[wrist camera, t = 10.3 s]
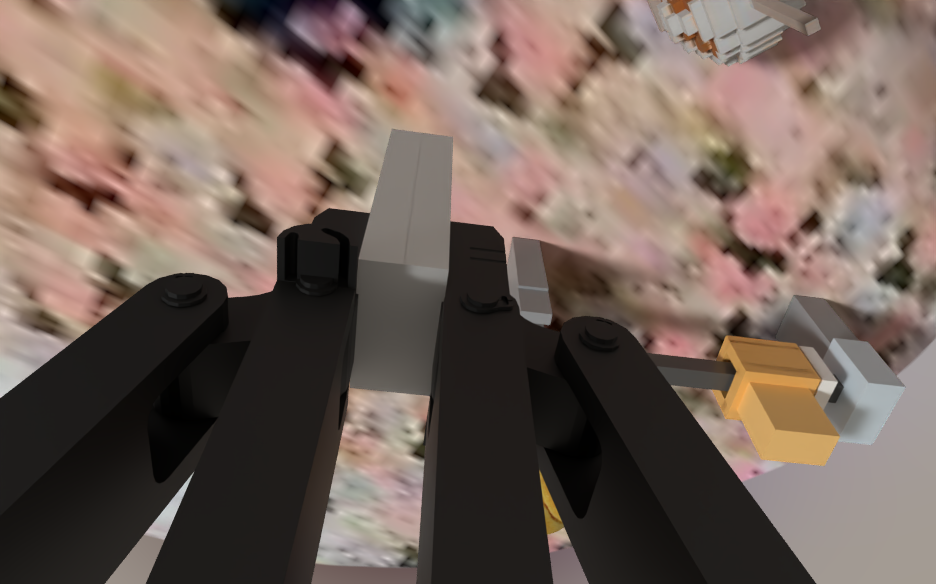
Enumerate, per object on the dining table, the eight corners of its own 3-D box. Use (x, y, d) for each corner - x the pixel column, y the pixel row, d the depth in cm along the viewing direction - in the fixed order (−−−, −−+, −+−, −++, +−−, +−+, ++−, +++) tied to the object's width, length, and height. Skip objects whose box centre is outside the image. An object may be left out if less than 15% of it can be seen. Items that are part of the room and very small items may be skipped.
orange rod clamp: (707, 381, 50) (748, 468, 43) (726, 335, 48) (772, 418, 41) (775, 388, 51) (827, 476, 44) (796, 343, 49) (854, 427, 41)
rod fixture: (495, 326, 56) (501, 423, 47) (512, 237, 52) (523, 323, 42) (795, 360, 58) (862, 461, 48) (834, 276, 54) (916, 368, 44)
